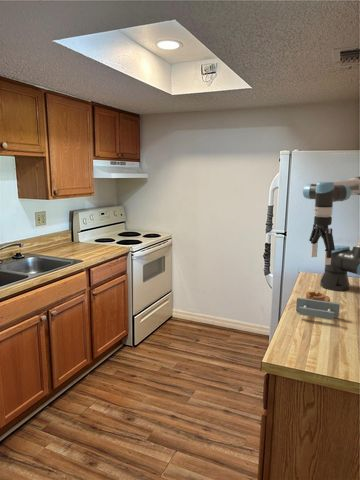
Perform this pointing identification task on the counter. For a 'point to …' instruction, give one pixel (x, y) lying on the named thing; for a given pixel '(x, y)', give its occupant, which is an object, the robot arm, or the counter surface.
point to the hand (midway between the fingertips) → (320, 260)
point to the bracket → (317, 296)
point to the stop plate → (317, 308)
